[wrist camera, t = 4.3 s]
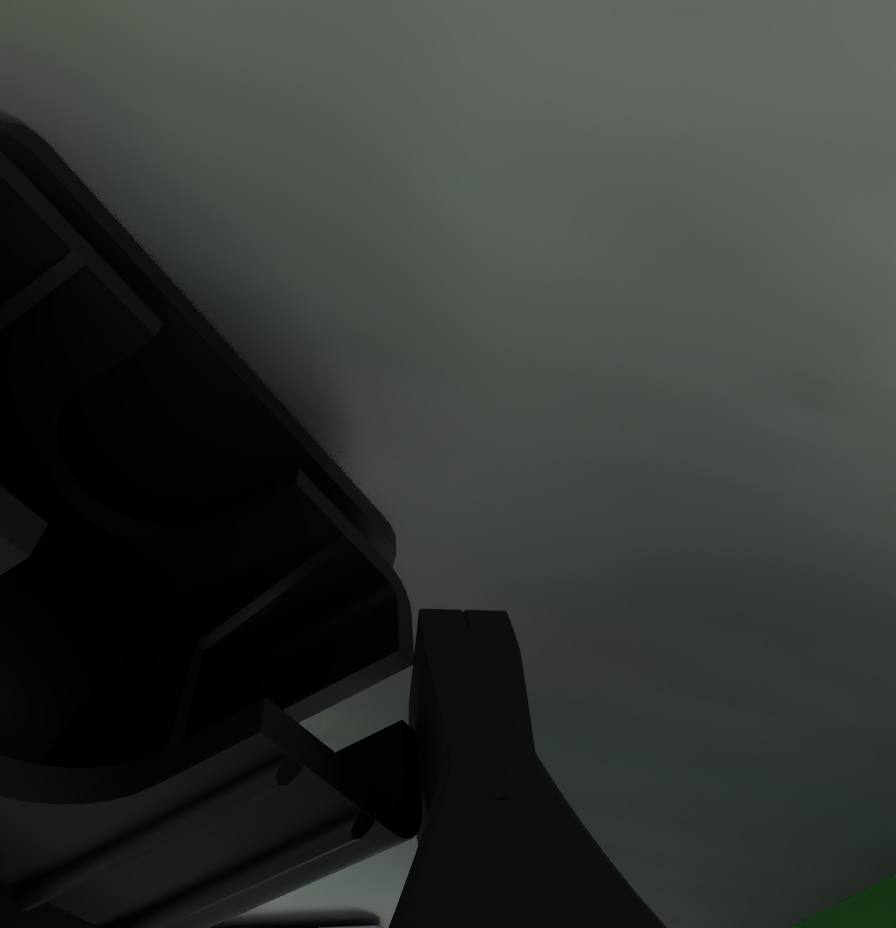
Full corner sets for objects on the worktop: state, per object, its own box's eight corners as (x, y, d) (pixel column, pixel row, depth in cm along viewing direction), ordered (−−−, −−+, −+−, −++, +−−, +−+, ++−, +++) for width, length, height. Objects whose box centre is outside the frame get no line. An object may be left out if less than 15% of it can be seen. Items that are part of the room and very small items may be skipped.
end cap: (-349, 356, 11) (-1063, 752, 6) (-18, 64, 10) (-568, 219, 4) (146, 705, 16) (27, 1097, 11) (420, 554, 15) (450, 927, 9)
